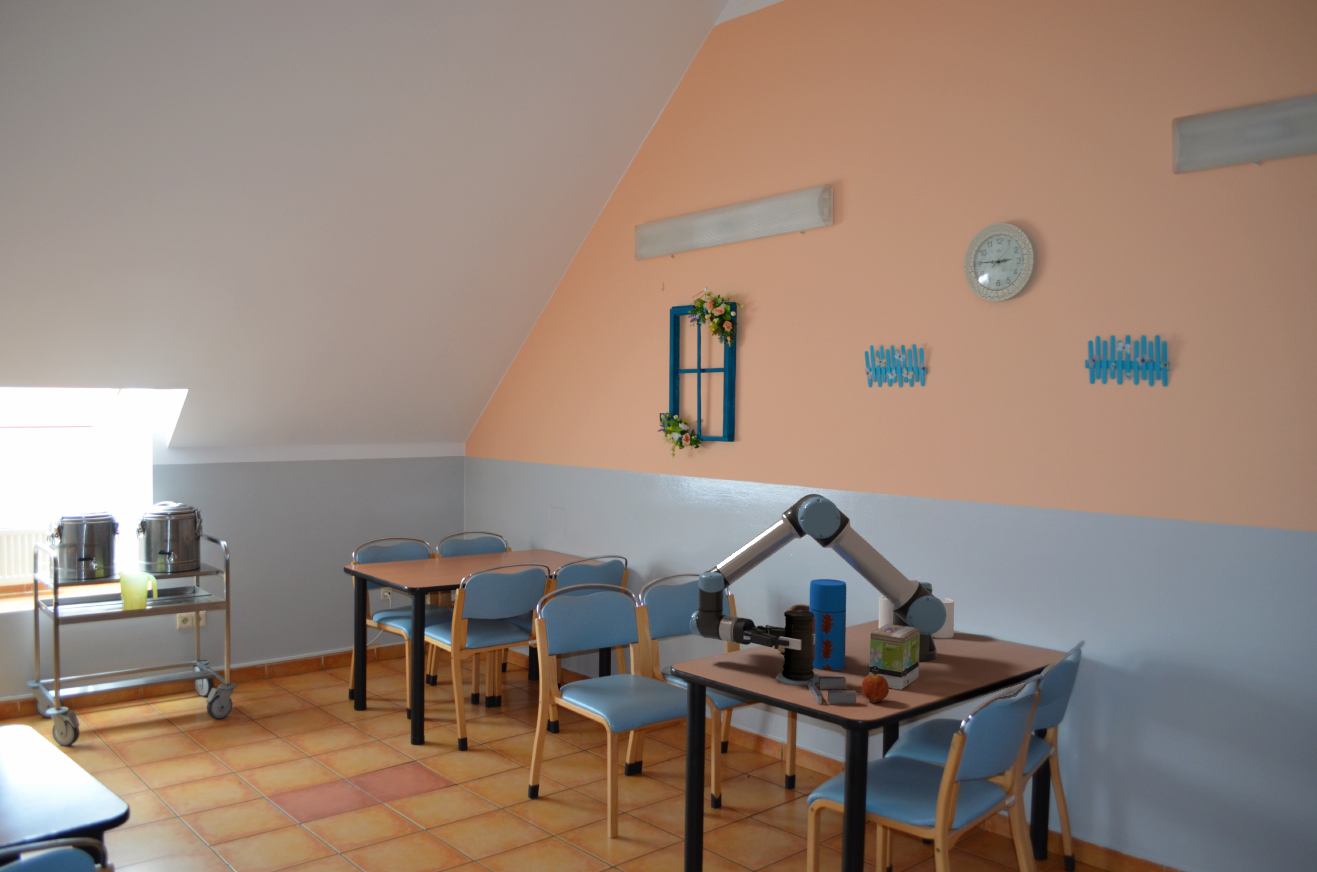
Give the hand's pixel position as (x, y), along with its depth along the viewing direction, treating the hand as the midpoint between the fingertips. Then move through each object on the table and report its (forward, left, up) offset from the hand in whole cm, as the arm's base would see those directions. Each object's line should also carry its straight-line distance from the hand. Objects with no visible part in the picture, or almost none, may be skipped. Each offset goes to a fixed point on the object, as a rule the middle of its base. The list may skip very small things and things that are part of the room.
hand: (807, 642), depth 267 cm
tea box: (-25, -1, -11) cm, 27 cm away
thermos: (-9, -17, -11) cm, 22 cm away
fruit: (-15, +18, -11) cm, 26 cm away
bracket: (-47, -58, -11) cm, 76 cm away
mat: (+2, -2, -11) cm, 11 cm away
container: (+2, -2, -10) cm, 11 cm away
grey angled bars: (-4, +13, -11) cm, 18 cm away
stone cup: (-4, -32, -11) cm, 34 cm away
